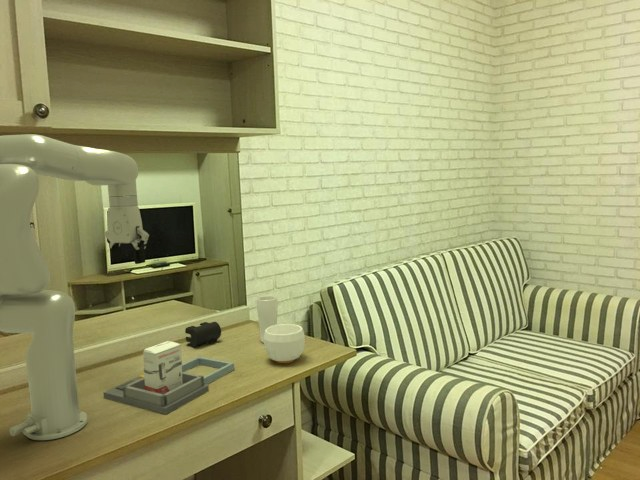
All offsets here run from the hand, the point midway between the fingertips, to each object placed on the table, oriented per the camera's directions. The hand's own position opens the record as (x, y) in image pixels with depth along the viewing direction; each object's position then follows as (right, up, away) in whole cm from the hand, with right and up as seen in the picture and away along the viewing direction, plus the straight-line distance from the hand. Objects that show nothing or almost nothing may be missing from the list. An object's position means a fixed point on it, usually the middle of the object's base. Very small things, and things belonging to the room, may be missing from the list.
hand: (128, 262), depth 147 cm
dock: (+13, -34, -14) cm, 39 cm away
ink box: (+15, -33, -16) cm, 39 cm away
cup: (+44, -30, +8) cm, 54 cm away
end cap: (+16, -29, +26) cm, 42 cm away
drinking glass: (+38, -28, +27) cm, 54 cm away
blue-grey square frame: (+21, -32, -1) cm, 38 cm away
